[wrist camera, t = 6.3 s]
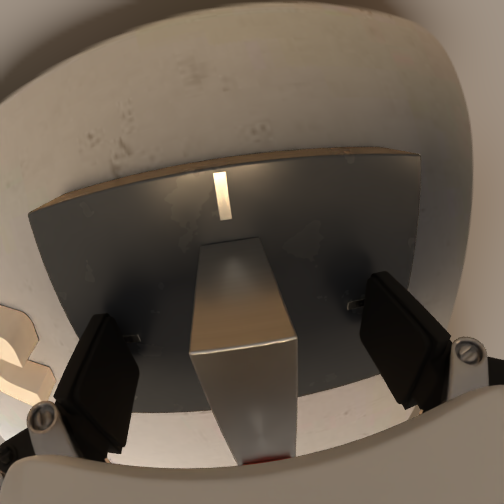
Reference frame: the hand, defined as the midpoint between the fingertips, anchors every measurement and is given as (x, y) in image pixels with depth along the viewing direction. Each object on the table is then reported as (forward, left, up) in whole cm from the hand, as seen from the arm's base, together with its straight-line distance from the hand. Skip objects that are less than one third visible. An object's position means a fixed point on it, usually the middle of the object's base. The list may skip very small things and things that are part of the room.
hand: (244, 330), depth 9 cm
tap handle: (0, 0, 0) cm, 0 cm away
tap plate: (0, 0, -3) cm, 3 cm away
